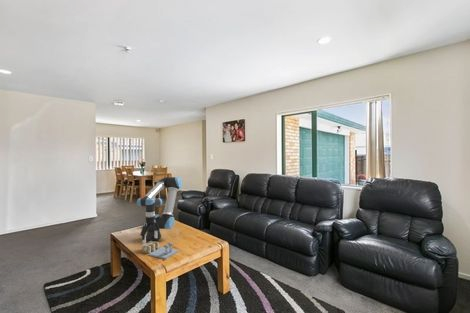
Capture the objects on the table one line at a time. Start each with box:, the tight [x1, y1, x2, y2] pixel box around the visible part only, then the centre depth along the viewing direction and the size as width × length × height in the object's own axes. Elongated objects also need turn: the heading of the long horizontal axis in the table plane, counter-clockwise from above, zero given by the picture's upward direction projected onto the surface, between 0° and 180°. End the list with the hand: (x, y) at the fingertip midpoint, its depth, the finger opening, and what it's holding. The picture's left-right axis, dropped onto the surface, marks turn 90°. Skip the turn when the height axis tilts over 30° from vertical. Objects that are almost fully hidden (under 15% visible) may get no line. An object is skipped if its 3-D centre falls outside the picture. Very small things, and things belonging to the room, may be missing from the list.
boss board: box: [148, 241, 180, 260], centre depth 194 cm, size 18×16×8 cm
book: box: [155, 202, 166, 217], centre depth 269 cm, size 16×6×25 cm, turn 148°
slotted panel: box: [141, 241, 160, 255], centre depth 200 cm, size 9×10×6 cm
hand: (150, 240), depth 199 cm, fingers open, 13 cm apart
